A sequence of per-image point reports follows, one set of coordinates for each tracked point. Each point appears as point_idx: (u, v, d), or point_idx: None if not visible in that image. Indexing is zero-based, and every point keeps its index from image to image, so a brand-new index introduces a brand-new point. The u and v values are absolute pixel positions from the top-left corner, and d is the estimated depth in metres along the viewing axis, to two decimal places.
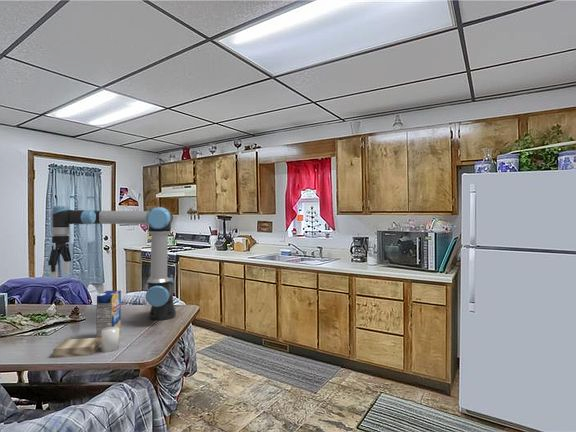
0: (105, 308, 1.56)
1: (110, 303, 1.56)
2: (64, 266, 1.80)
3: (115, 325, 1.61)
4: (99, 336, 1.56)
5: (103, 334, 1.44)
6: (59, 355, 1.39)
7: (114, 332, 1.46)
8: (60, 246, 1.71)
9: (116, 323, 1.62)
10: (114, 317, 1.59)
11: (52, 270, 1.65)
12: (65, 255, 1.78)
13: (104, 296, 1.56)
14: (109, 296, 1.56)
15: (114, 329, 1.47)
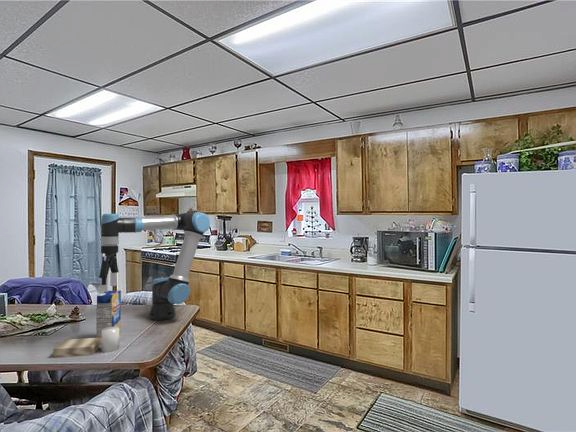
0: (105, 308, 1.56)
1: (110, 303, 1.56)
2: (111, 278, 1.67)
3: (115, 325, 1.61)
4: (99, 336, 1.56)
5: (103, 334, 1.44)
6: (59, 355, 1.39)
7: (114, 332, 1.46)
8: (110, 257, 1.59)
9: (116, 323, 1.62)
10: (114, 317, 1.59)
11: (103, 283, 1.53)
12: (113, 266, 1.66)
13: (104, 296, 1.56)
14: (109, 296, 1.56)
15: (114, 329, 1.47)
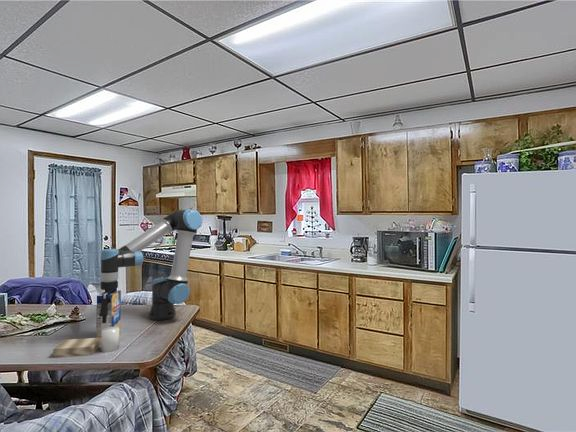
0: None
1: (109, 303, 1.56)
2: None
3: (115, 325, 1.61)
4: (99, 336, 1.56)
5: (103, 334, 1.44)
6: (59, 355, 1.39)
7: (114, 332, 1.46)
8: (109, 293, 1.59)
9: (116, 323, 1.62)
10: (114, 317, 1.59)
11: (103, 321, 1.54)
12: None
13: None
14: (109, 296, 1.56)
15: (114, 329, 1.47)
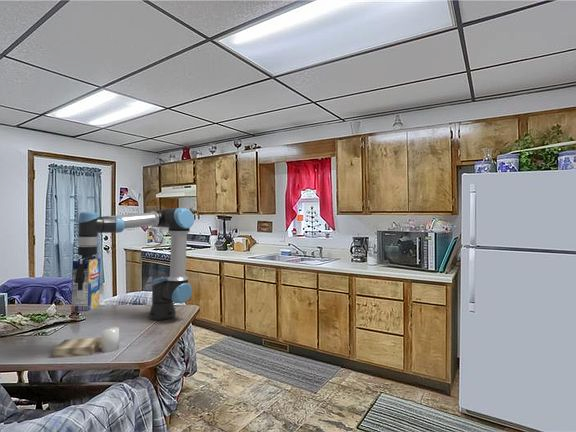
0: None
1: (86, 269, 1.44)
2: None
3: (93, 294, 1.49)
4: (74, 304, 1.43)
5: (103, 334, 1.44)
6: (59, 355, 1.39)
7: (114, 332, 1.46)
8: (87, 259, 1.47)
9: (94, 293, 1.49)
10: (91, 285, 1.47)
11: (79, 288, 1.42)
12: None
13: None
14: (86, 261, 1.44)
15: (114, 329, 1.47)
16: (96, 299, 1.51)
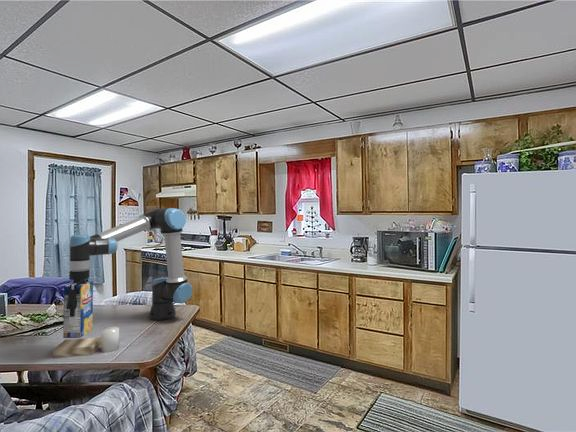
0: None
1: (78, 294, 1.40)
2: None
3: (85, 319, 1.45)
4: (66, 331, 1.40)
5: (103, 334, 1.44)
6: (59, 355, 1.39)
7: (114, 332, 1.46)
8: (79, 283, 1.43)
9: (86, 317, 1.46)
10: (84, 310, 1.43)
11: (71, 315, 1.38)
12: None
13: None
14: (78, 287, 1.40)
15: (114, 329, 1.47)
16: (89, 323, 1.48)
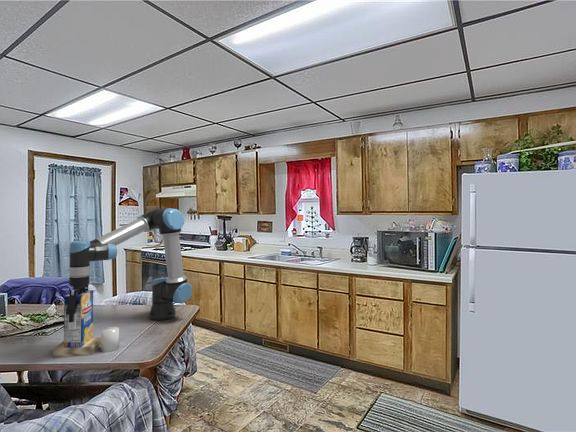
0: None
1: (79, 304, 1.41)
2: None
3: (86, 328, 1.45)
4: (66, 340, 1.40)
5: (103, 334, 1.44)
6: (59, 355, 1.39)
7: (114, 332, 1.46)
8: (79, 290, 1.43)
9: (87, 327, 1.46)
10: (84, 320, 1.43)
11: (70, 320, 1.37)
12: None
13: None
14: (78, 296, 1.40)
15: (114, 329, 1.47)
16: (89, 332, 1.48)
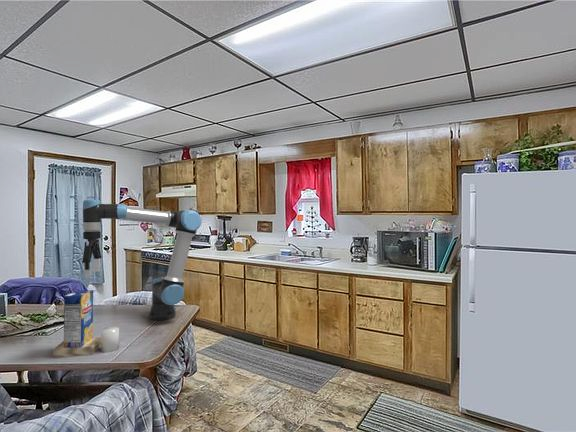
0: (74, 310, 1.40)
1: (79, 304, 1.41)
2: (94, 264, 1.69)
3: (86, 328, 1.45)
4: (66, 340, 1.40)
5: (103, 334, 1.44)
6: (59, 355, 1.39)
7: (114, 332, 1.46)
8: (92, 242, 1.60)
9: (87, 327, 1.46)
10: (84, 320, 1.43)
11: (86, 268, 1.55)
12: (96, 252, 1.67)
13: (72, 296, 1.40)
14: (78, 296, 1.40)
15: (114, 329, 1.47)
16: (89, 332, 1.48)
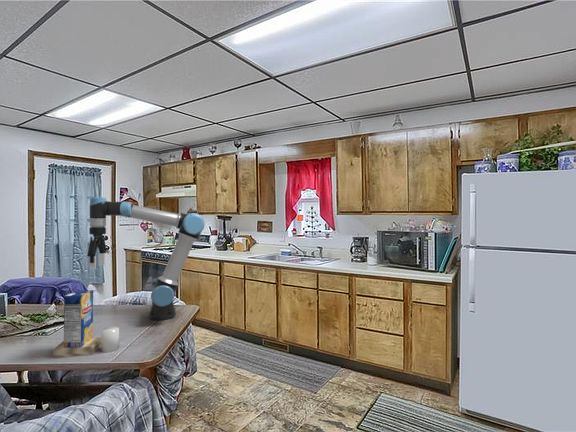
0: (74, 310, 1.40)
1: (79, 304, 1.40)
2: (100, 258, 1.79)
3: (86, 328, 1.45)
4: (66, 340, 1.40)
5: (103, 334, 1.44)
6: (59, 355, 1.39)
7: (114, 332, 1.46)
8: (98, 237, 1.71)
9: (87, 327, 1.46)
10: (84, 320, 1.43)
11: (91, 261, 1.65)
12: (101, 247, 1.77)
13: (72, 296, 1.40)
14: (78, 296, 1.40)
15: (114, 329, 1.47)
16: (89, 332, 1.48)
